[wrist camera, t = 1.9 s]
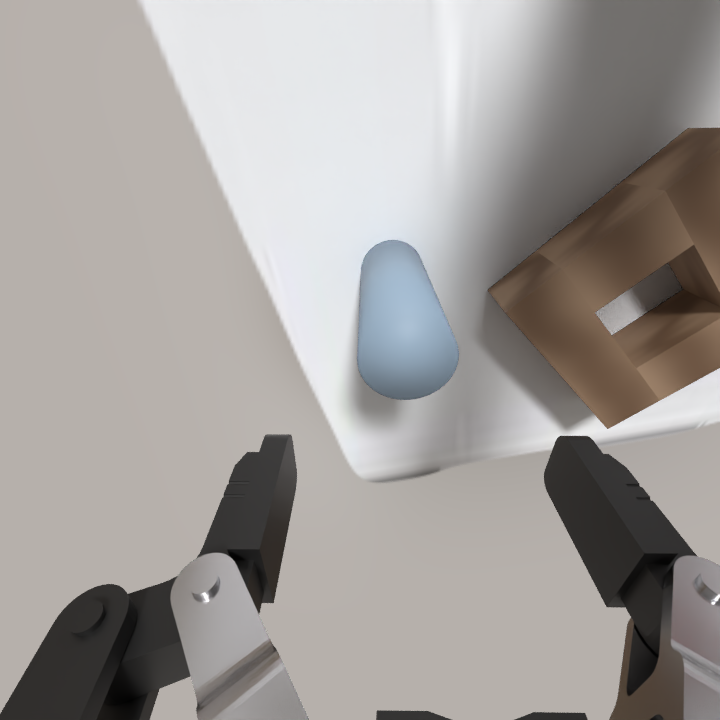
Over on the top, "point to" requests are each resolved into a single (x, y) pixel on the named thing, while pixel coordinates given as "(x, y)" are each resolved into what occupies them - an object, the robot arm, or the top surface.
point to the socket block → (630, 283)
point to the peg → (402, 325)
